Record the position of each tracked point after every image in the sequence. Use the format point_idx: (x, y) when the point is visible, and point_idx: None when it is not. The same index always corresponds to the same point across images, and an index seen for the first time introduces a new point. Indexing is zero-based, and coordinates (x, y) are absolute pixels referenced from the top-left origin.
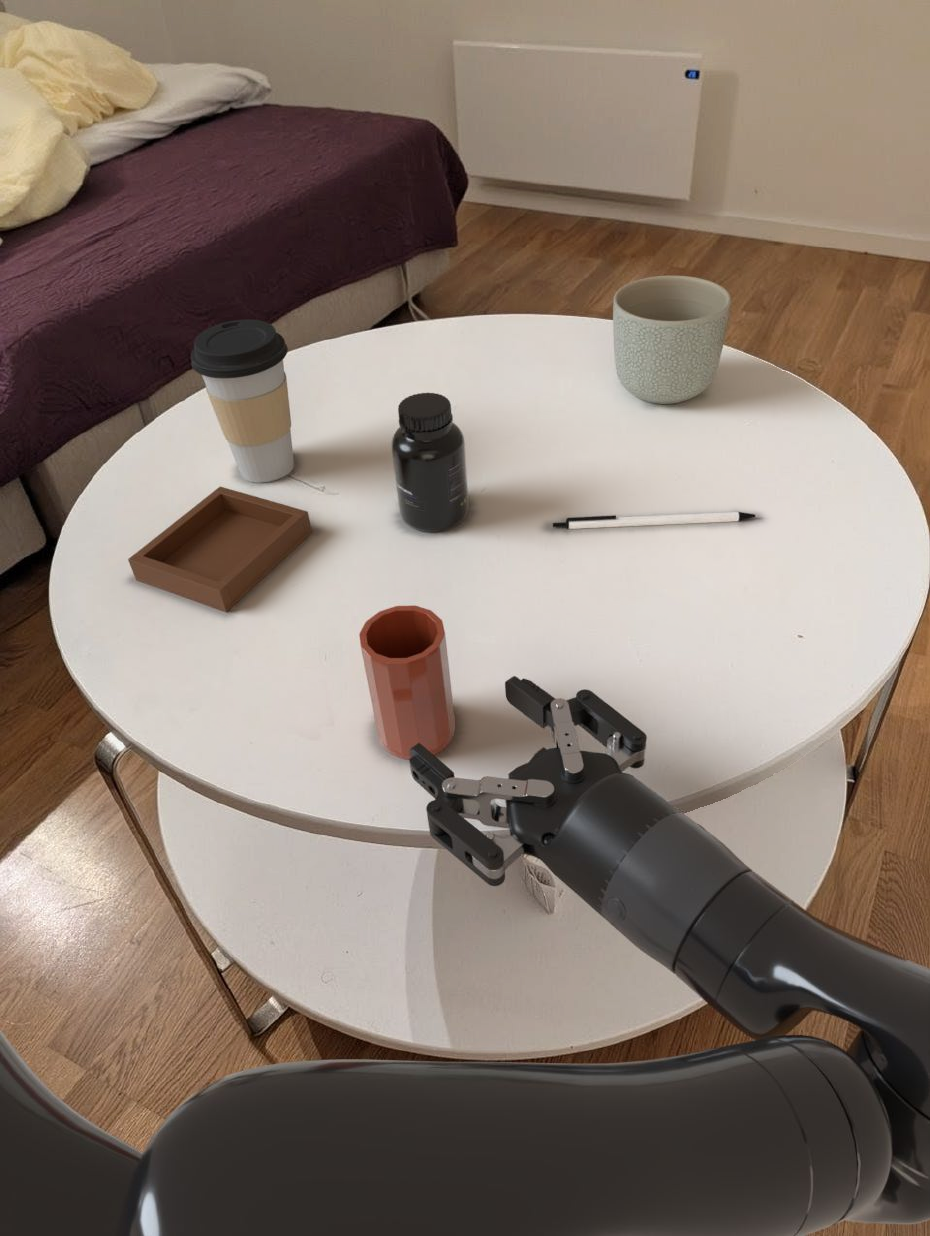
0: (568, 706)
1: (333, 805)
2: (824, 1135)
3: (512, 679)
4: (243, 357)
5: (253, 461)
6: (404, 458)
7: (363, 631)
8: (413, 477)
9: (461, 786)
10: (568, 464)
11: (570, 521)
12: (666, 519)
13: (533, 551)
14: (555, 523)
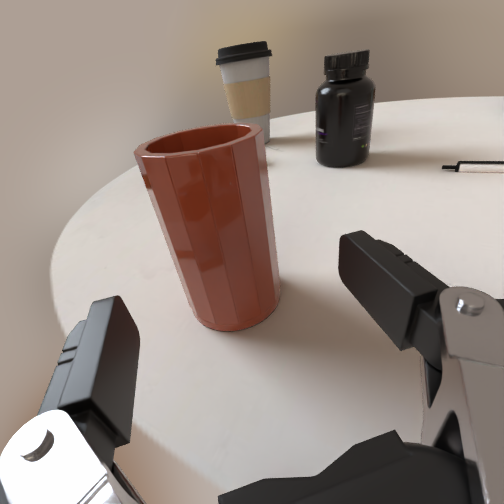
0: (502, 315)
1: None
2: None
3: (354, 233)
4: (238, 48)
5: None
6: (321, 96)
7: (160, 136)
8: (326, 114)
9: (44, 468)
10: (460, 142)
11: (461, 164)
12: None
13: (419, 181)
14: (445, 165)
